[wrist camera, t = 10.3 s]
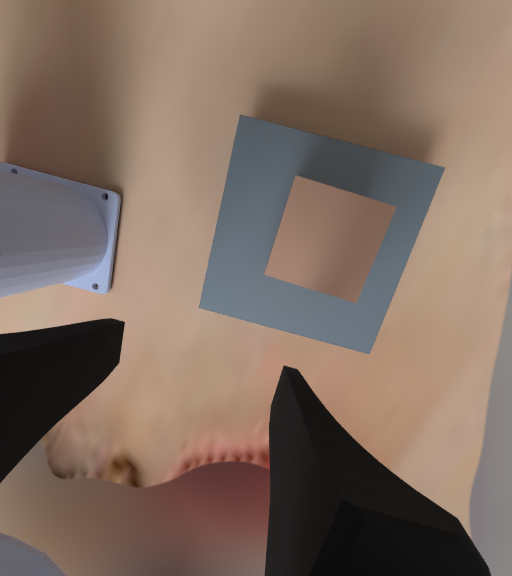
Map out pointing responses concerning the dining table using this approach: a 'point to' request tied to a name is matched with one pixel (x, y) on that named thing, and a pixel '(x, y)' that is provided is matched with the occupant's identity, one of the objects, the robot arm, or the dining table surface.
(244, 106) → the dining table surface
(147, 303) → the dining table surface
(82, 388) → the robot arm
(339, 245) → the pale pink cube
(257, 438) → the dining table surface
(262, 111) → the dining table surface
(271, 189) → the base board
